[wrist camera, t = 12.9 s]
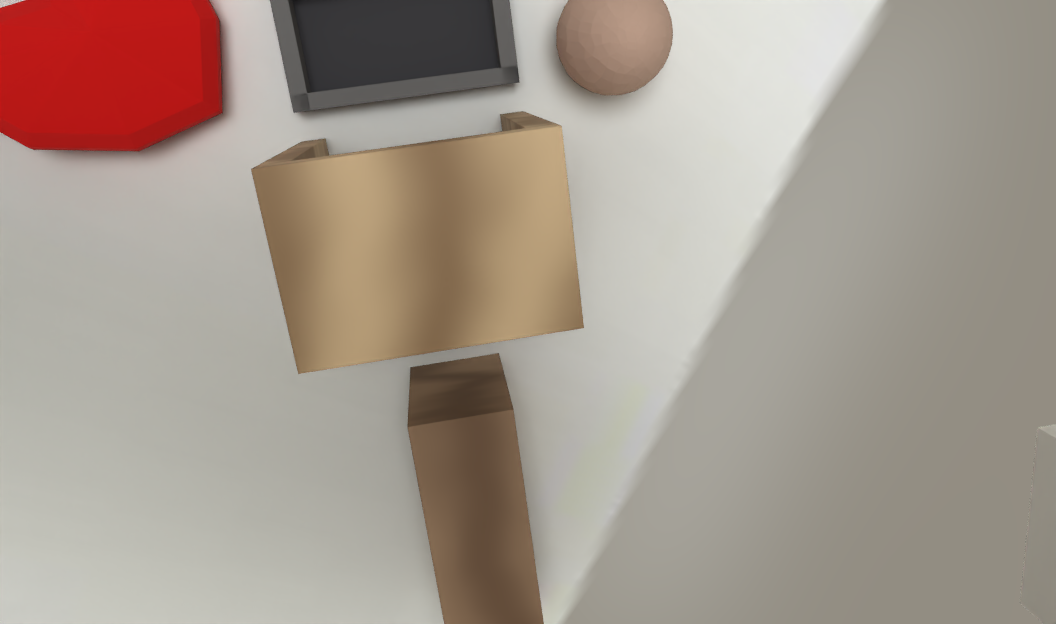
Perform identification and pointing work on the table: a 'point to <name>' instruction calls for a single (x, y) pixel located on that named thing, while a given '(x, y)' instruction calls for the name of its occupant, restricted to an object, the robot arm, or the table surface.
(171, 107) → the heart
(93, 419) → the table surface
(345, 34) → the tray
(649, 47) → the egg
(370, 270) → the tunnel
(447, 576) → the walnut block
